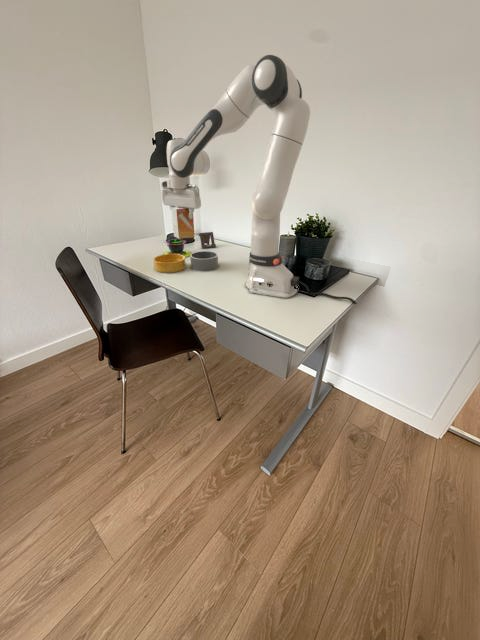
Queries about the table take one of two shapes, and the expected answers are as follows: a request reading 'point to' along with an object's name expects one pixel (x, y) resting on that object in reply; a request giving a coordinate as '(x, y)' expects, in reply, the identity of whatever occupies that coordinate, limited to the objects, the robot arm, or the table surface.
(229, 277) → the table surface
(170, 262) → the bowl
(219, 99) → the robot arm
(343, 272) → the table surface
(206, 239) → the tablet stand
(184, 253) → the toy cauldron
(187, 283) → the table surface
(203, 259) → the pot
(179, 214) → the small box
